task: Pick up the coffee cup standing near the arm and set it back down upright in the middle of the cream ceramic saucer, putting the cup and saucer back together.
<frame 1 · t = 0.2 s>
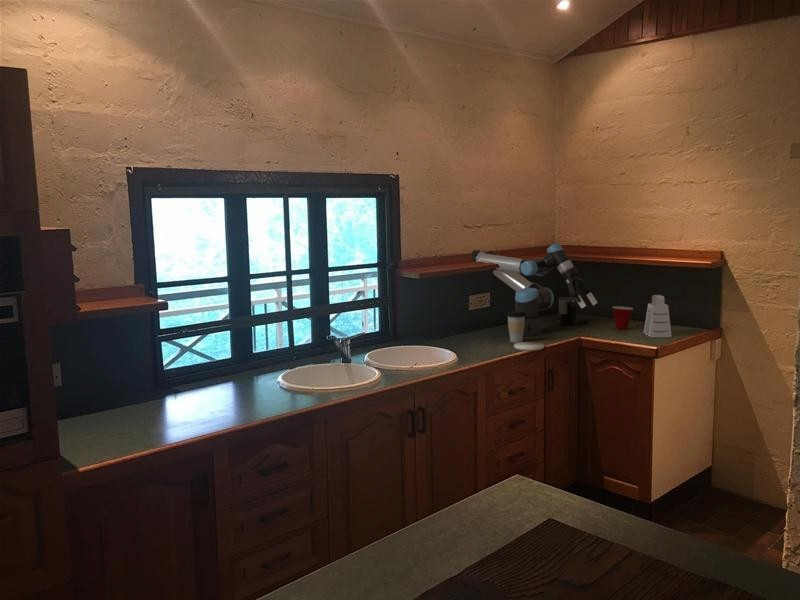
hand: (589, 305, 349), 15 cm above the worktop, tool tilted 35°, fingers open, 13 cm apart
milk frother: (574, 324, 384), on the worktop
plastic cup: (622, 329, 366), on the worktop
saucer: (528, 347, 325), on the worktop
grater: (657, 335, 347), on the worktop
coffee cup: (516, 341, 340), on the worktop
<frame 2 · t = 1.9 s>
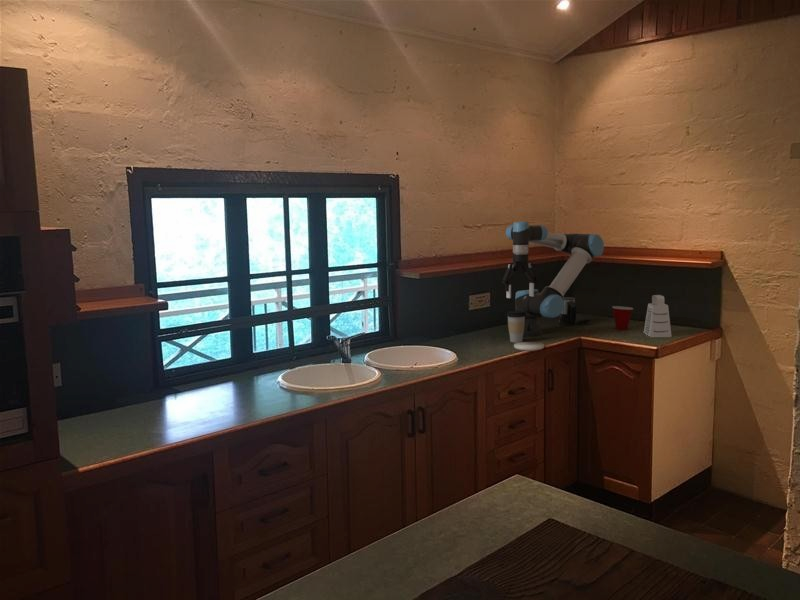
hand: (520, 297, 336), 22 cm above the worktop, tool pointing down, fingers open, 13 cm apart
nothing on the worktop moved.
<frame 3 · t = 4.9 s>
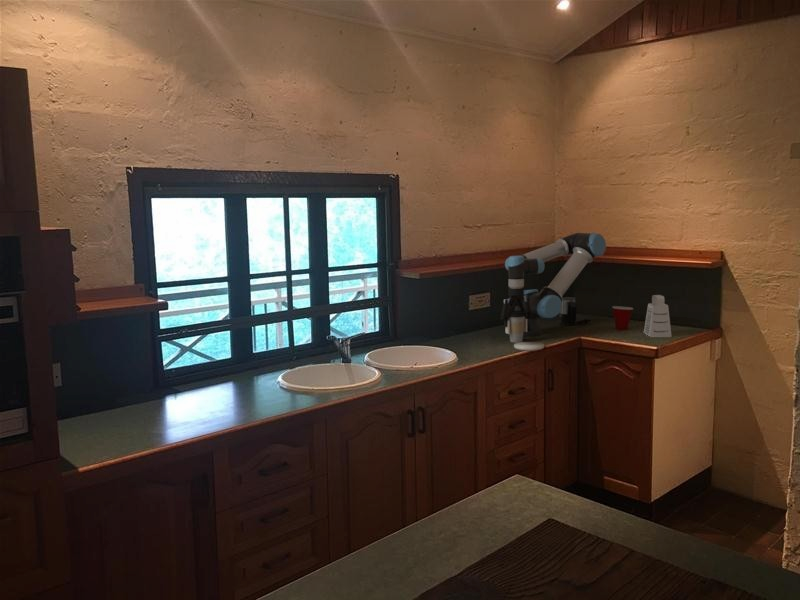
hand: (516, 332, 339), 5 cm above the worktop, tool pointing down, fingers closed on coffee cup, 9 cm apart
coffee cup: (516, 341, 340), on the worktop, touching gripper
everything else where it was.
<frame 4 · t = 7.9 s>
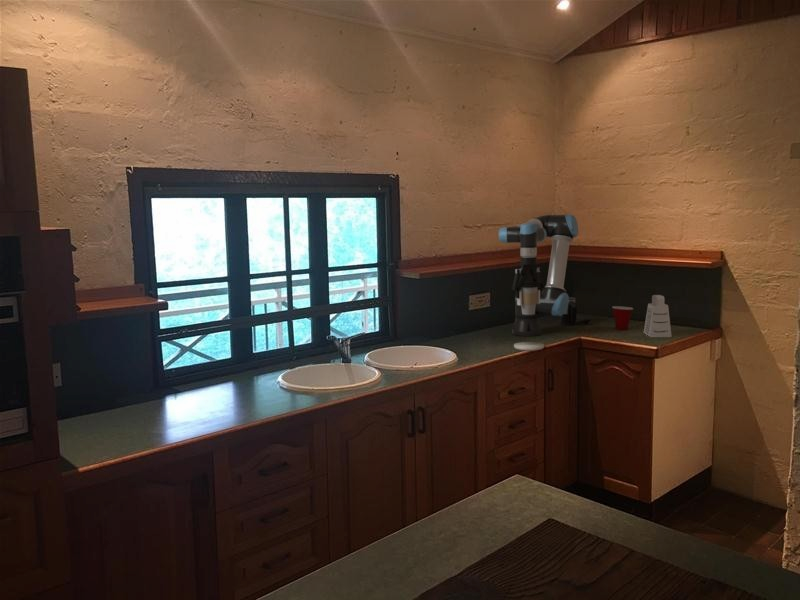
hand: (528, 304, 323), 21 cm above the worktop, tool pointing down, fingers closed on coffee cup, 9 cm apart
coffee cup: (528, 314, 323), point 16 cm above the worktop, touching gripper
everything else where it was.
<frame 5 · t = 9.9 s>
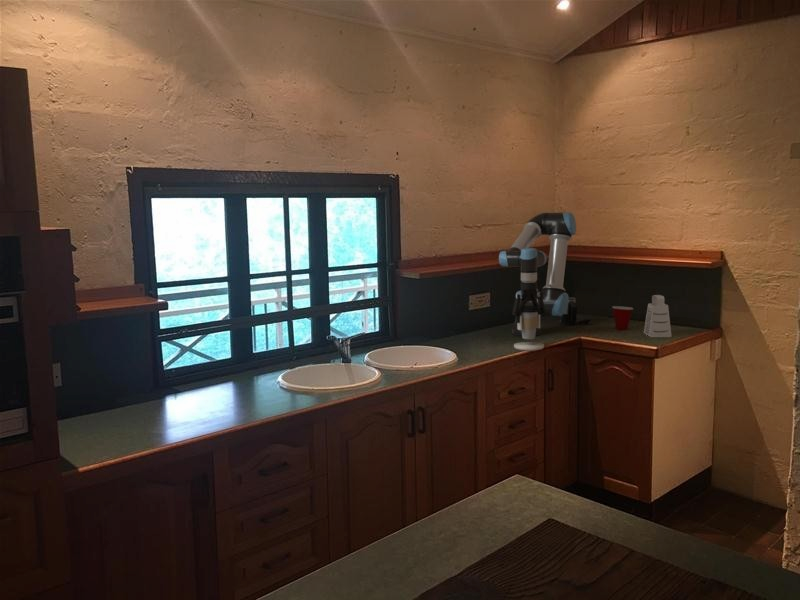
hand: (528, 328, 324), 9 cm above the worktop, tool pointing down, fingers closed on coffee cup, 9 cm apart
coffee cup: (528, 338, 325), point 4 cm above the worktop, touching gripper
everything else where it was.
when the fingers open (6 cm above the worktop, at t = 11.5 s): coffee cup stays where it is, resting on saucer.
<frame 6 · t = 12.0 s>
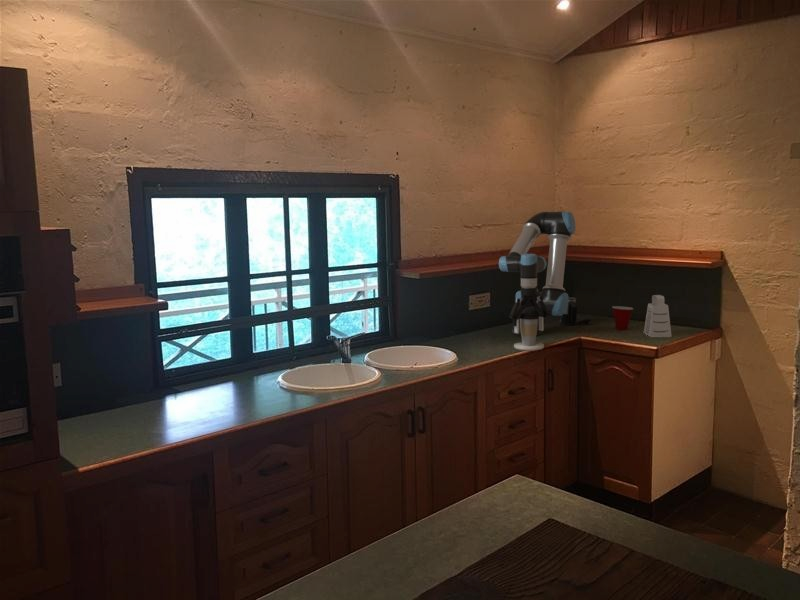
hand: (528, 331, 324), 8 cm above the worktop, tool pointing down, fingers open, 13 cm apart
coffee cup: (528, 345, 325), point 1 cm above the worktop, touching saucer
everything else where it was.
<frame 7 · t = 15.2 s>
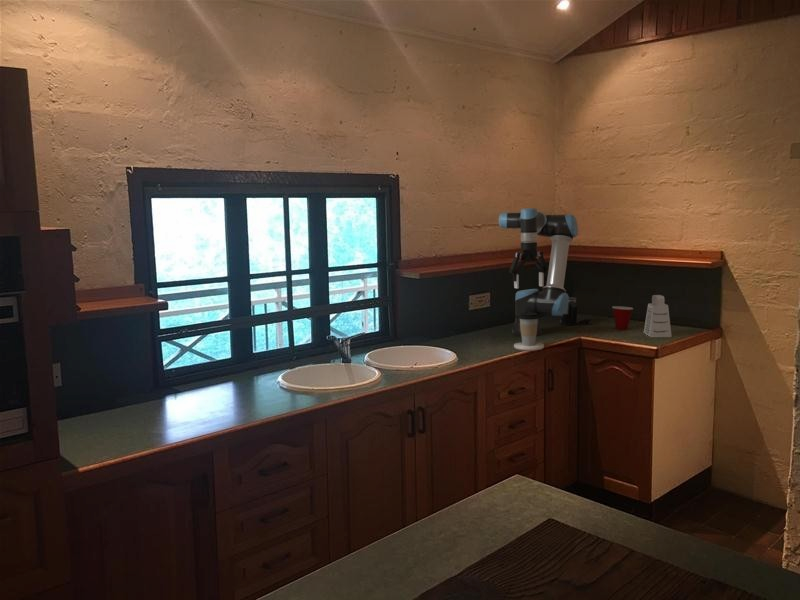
hand: (528, 287, 322), 29 cm above the worktop, tool pointing down, fingers open, 13 cm apart
nothing on the worktop moved.
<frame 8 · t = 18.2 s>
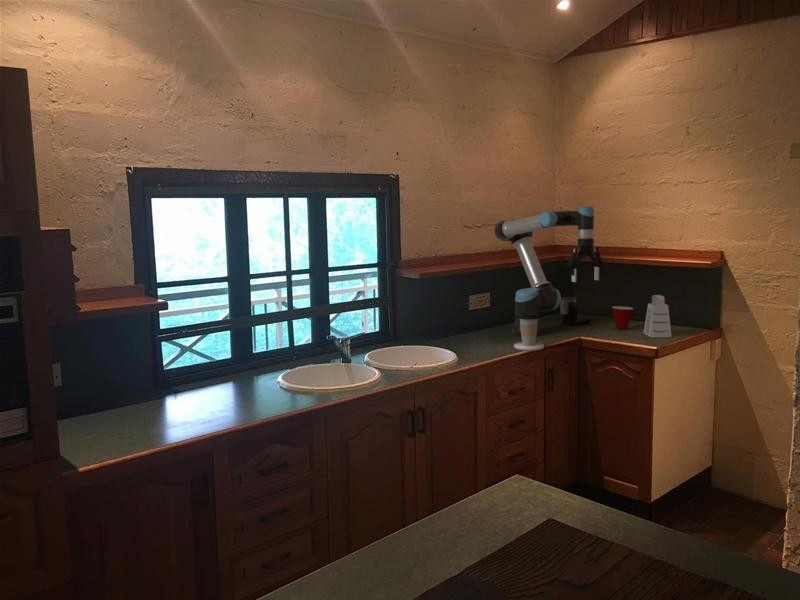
hand: (585, 281, 341), 29 cm above the worktop, tool pointing down, fingers open, 13 cm apart
nothing on the worktop moved.
at the end: coffee cup 0.1 cm from the saucer (horizontally); coffee cup point 1.0 cm above the worktop; coffee cup tilted 0° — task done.
